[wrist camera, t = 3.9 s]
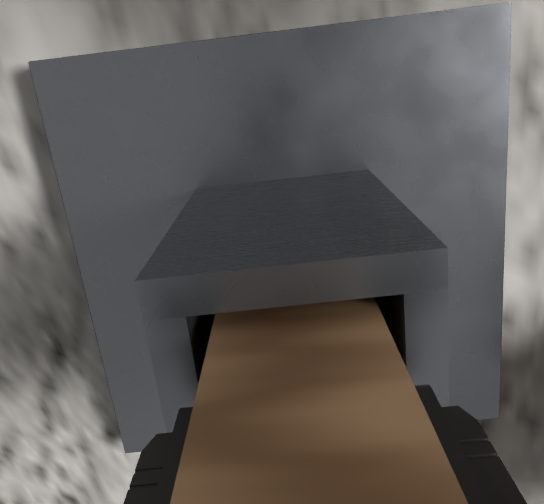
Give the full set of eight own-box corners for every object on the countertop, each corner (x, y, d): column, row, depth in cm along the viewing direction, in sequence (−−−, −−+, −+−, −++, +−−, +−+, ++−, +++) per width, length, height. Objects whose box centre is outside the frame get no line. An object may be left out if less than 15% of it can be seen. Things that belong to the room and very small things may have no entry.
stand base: (495, 7, 20) (750, -70, 10) (486, 399, 26) (639, 631, 15) (44, 62, 21) (-200, 50, 10) (133, 433, 27) (37, 678, 16)
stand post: (337, 206, 21) (497, 529, 6) (344, 301, 23) (490, 758, 8) (233, 217, 21) (140, 559, 6) (246, 312, 23) (196, 778, 8)
